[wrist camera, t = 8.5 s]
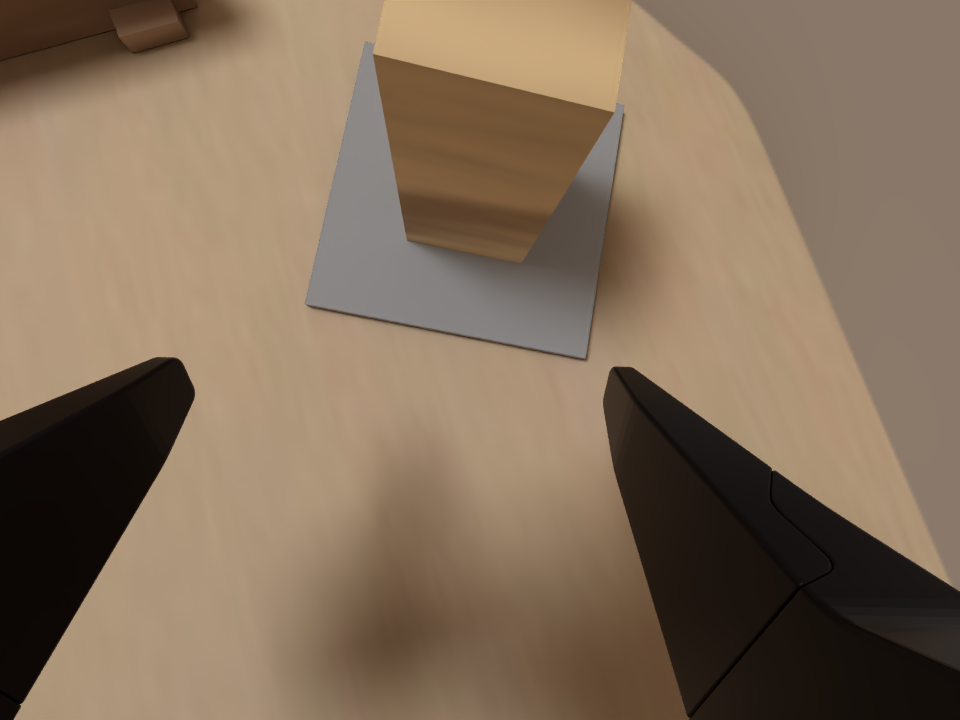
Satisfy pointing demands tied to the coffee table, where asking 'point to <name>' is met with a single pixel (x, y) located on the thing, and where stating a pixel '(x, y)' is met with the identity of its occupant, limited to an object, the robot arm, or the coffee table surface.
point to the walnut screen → (89, 22)
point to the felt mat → (453, 274)
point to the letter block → (494, 111)
